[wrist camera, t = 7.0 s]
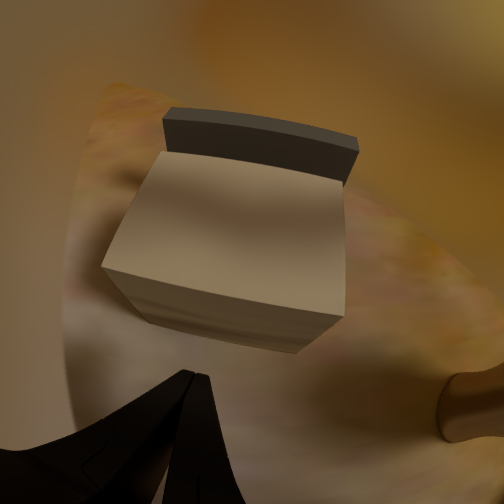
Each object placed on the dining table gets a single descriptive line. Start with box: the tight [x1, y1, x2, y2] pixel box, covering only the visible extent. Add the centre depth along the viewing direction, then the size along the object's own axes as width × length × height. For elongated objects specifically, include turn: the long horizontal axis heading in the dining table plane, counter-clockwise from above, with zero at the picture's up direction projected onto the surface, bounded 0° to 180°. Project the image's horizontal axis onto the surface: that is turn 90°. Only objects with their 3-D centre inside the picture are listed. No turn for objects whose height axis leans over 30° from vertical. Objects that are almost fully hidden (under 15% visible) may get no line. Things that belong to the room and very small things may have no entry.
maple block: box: [101, 151, 346, 354], centre depth 15 cm, size 7×10×8 cm
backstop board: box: [162, 107, 359, 187], centre depth 18 cm, size 2×12×8 cm, turn 80°
